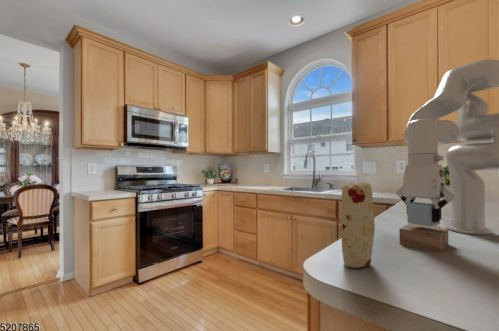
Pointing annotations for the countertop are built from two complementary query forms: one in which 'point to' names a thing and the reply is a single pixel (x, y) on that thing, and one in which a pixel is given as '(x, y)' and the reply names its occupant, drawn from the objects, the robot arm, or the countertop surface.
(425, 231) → the walnut block
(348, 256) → the food model
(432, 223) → the slate cube
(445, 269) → the countertop surface
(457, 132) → the robot arm
